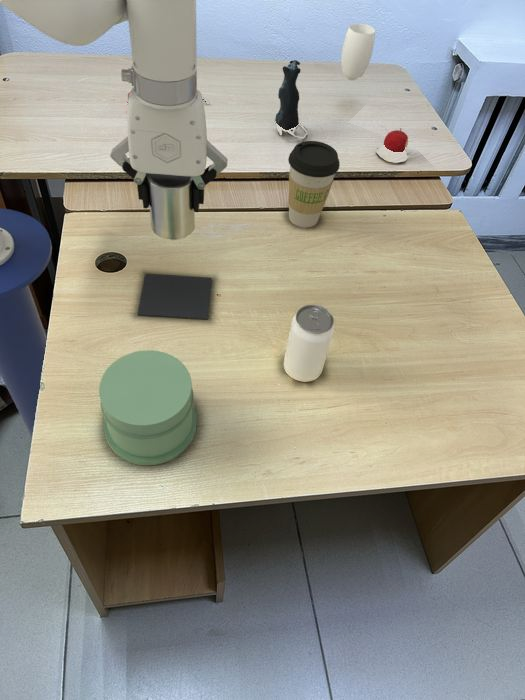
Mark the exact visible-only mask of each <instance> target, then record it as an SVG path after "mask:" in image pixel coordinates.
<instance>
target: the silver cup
mask: <svg viewBox="0 0 525 700" xmlns="http://www.w3.org/2000/svg"><path fill="white" fill-rule="evenodd" d="M147 184H148V195H149V214H150V215H149V216H150V226H151V227H150V228H151V230H152V232H153V233H154V234H155V236H157V237H159V238H162V239H164V240H170V241H175V240H176V241H177V240H181V239H182V240H183V239H185V238H187V237H189V236H190V235H191V234H192V233H193V232H194V231H195V227H196V217H195V216H196V212H195V211H193V188H194V180H193V178H192V177H191V176H176V175H163V174H151V173H147Z"/></svg>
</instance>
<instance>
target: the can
mask: <svg viewBox="0 0 525 700" xmlns="http://www.w3.org/2000/svg"><path fill="white" fill-rule="evenodd" d="M334 333H335V319H334V315H333V314H332V313H331V311H330V310H328V309H327V308H325V307H324V306H322V305H319V304H306V305H303V306H302V307H300V308H299V309H298V310H297V312H296V314H295V315H294V316H293V318H292V320H291V323H290V328H289V333H288V338H287V343H286V348H285V353H284V359H283V370H284V371H285V372H286V374H287V375H288V377H290V378H292V379H293V380H295V381H298V382H304V383H305V382H306V383H308V382H312V381H315V380H317V379H318V378H319V377H320V376H321V374H322V372H323V371H324V366H325V364H326V360H327V357H328V353H329V351H330V348H331V347H330V346H331V344H332V341H333V338H334Z"/></svg>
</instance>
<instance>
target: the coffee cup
mask: <svg viewBox="0 0 525 700" xmlns="http://www.w3.org/2000/svg"><path fill="white" fill-rule="evenodd" d="M287 160H288V164H289V172H288V219H289V221H290V222H291V223H292V224H293V225H294V226H296V227H299V228H312V227H314V226H316V225H317V224H318V222H319V219H320V216H321V214H322V211H323V210H324V208H325V204H326V202H327V199H328V196H329V193H330V191H331V188H332V186H333V183H334V177H335V175H336V173H337V172H338V171H339V169H340V159H339V154H338V152H337V150H336V149H335V148H334V147H333V146H331V145H330V144H328V143H325V142H322V141H317V140H304V141H301V142H299V143H297V144H296V145H295V146H294V147H293V149H292V150H291V151H290V153H289V155H288V159H287Z"/></svg>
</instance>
